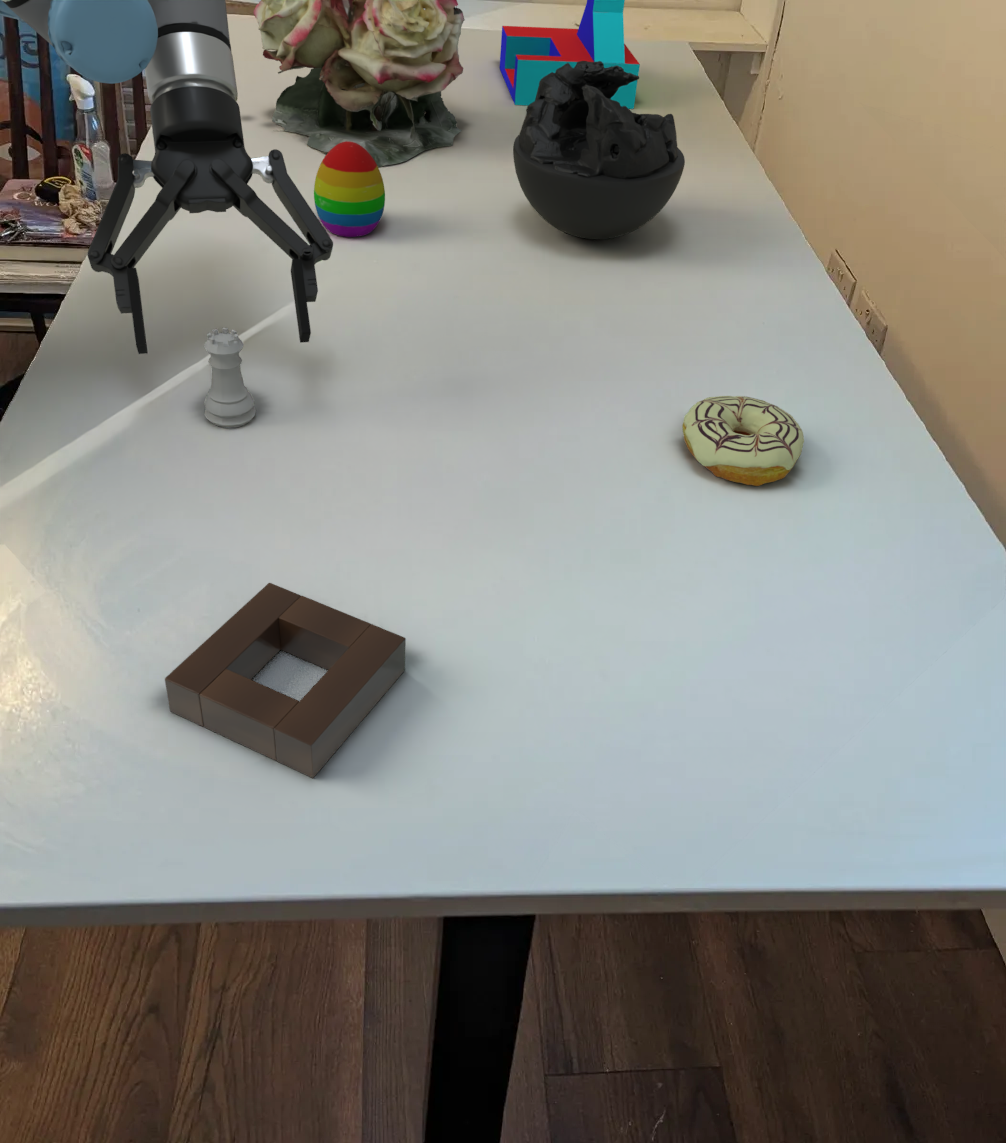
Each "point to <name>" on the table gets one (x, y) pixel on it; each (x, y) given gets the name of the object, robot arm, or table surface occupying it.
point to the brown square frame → (267, 717)
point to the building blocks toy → (567, 51)
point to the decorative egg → (349, 191)
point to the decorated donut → (743, 439)
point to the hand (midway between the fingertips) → (225, 343)
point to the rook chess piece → (227, 382)
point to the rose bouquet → (366, 72)
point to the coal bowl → (594, 154)
